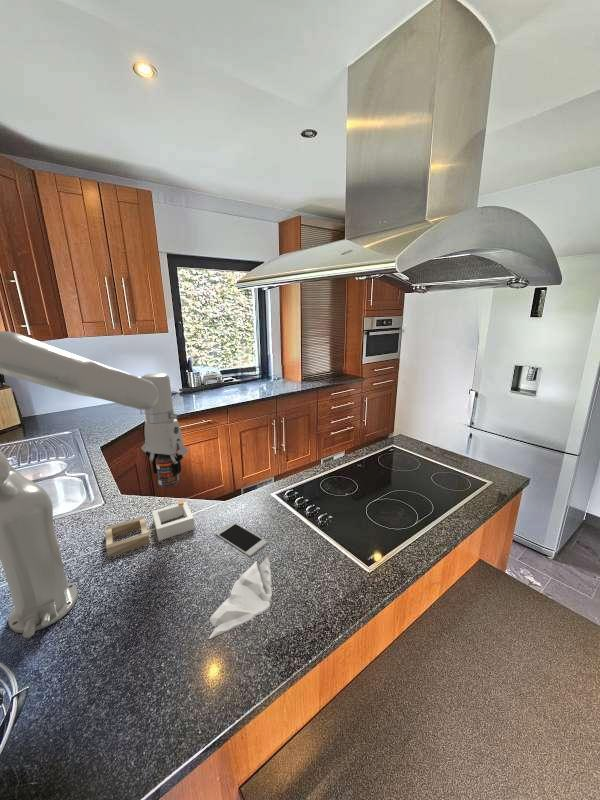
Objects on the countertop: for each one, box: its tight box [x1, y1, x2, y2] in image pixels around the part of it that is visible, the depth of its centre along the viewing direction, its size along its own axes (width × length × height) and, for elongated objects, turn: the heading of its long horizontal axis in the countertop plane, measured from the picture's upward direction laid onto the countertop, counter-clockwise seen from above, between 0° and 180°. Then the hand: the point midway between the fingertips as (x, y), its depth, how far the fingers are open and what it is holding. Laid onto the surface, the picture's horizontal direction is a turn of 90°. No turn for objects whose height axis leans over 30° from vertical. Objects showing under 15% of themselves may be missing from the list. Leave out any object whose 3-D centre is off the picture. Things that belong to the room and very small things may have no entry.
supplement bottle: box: [155, 454, 180, 489], centre depth 98 cm, size 6×6×11 cm
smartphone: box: [215, 521, 268, 558], centre depth 97 cm, size 7×15×1 cm, turn 52°
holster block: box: [105, 515, 151, 558], centre depth 96 cm, size 11×11×3 cm
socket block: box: [151, 500, 196, 542], centre depth 103 cm, size 11×11×5 cm
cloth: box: [208, 555, 273, 640], centre depth 78 cm, size 26×14×2 cm, turn 144°
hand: (167, 472), depth 98 cm, fingers closed on supplement bottle, 6 cm apart
